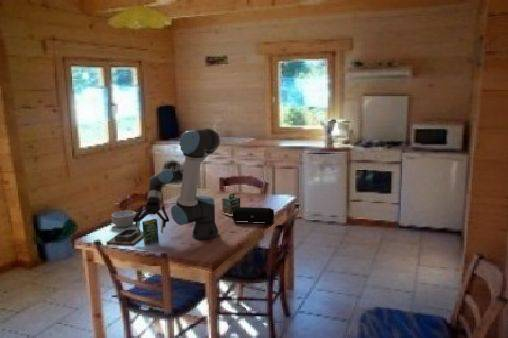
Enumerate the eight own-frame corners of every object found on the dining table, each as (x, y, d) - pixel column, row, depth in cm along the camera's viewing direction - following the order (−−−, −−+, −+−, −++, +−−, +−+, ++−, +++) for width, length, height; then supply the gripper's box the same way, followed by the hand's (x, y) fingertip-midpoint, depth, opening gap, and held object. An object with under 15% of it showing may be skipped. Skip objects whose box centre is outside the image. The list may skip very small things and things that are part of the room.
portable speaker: (232, 224, 277) (232, 209, 275) (235, 219, 287) (235, 205, 285) (272, 225, 273) (272, 210, 271) (274, 221, 283) (274, 206, 281)
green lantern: (231, 211, 306) (231, 191, 303) (241, 214, 300) (240, 193, 297) (222, 214, 299) (221, 193, 297) (231, 217, 293) (230, 195, 291)
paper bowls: (129, 229, 269) (129, 217, 267) (107, 228, 272) (106, 216, 270) (140, 222, 283) (140, 210, 282) (119, 221, 286) (118, 209, 285)
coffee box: (145, 245, 241) (143, 222, 239) (143, 243, 243) (142, 220, 241) (159, 242, 245) (157, 219, 243) (156, 240, 248) (155, 218, 246)
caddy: (148, 233, 261) (148, 227, 260) (133, 245, 240) (133, 239, 240) (123, 232, 263) (122, 226, 263) (106, 244, 243) (106, 238, 242)
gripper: (176, 202, 258) (173, 235, 246) (133, 203, 258) (128, 235, 246) (174, 196, 252) (170, 229, 240) (131, 196, 252) (125, 229, 240)
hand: (149, 232), depth 243 cm, fingers open, 13 cm apart
